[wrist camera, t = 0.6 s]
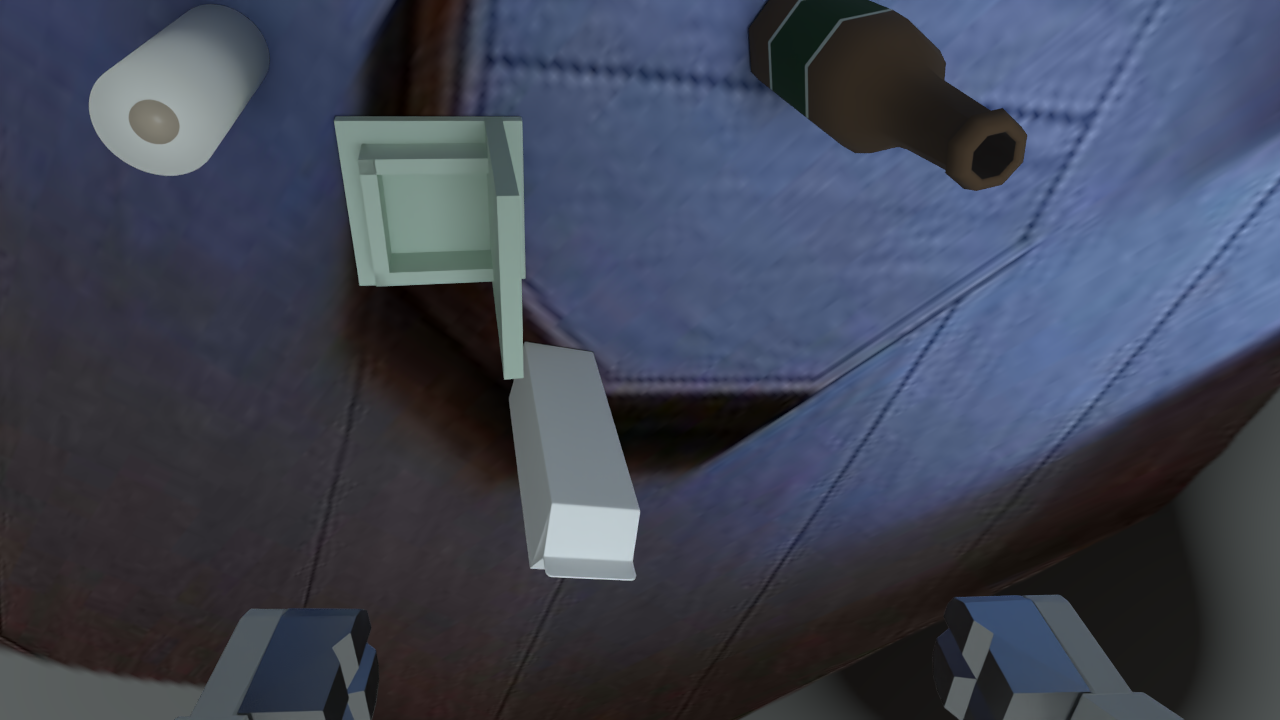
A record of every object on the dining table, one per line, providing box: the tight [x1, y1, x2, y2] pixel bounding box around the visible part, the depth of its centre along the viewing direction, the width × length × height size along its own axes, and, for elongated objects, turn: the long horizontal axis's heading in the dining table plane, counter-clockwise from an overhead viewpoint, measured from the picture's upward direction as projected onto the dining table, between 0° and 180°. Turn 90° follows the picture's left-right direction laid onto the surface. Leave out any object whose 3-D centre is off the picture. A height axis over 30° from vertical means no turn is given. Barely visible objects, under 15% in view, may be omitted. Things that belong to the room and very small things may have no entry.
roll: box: [89, 4, 270, 176], centre depth 41 cm, size 5×5×14 cm
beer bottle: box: [749, 0, 1027, 191], centre depth 44 cm, size 8×8×24 cm
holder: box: [334, 116, 525, 379], centre depth 49 cm, size 12×12×14 cm
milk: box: [509, 342, 640, 580], centre depth 57 cm, size 6×6×22 cm
